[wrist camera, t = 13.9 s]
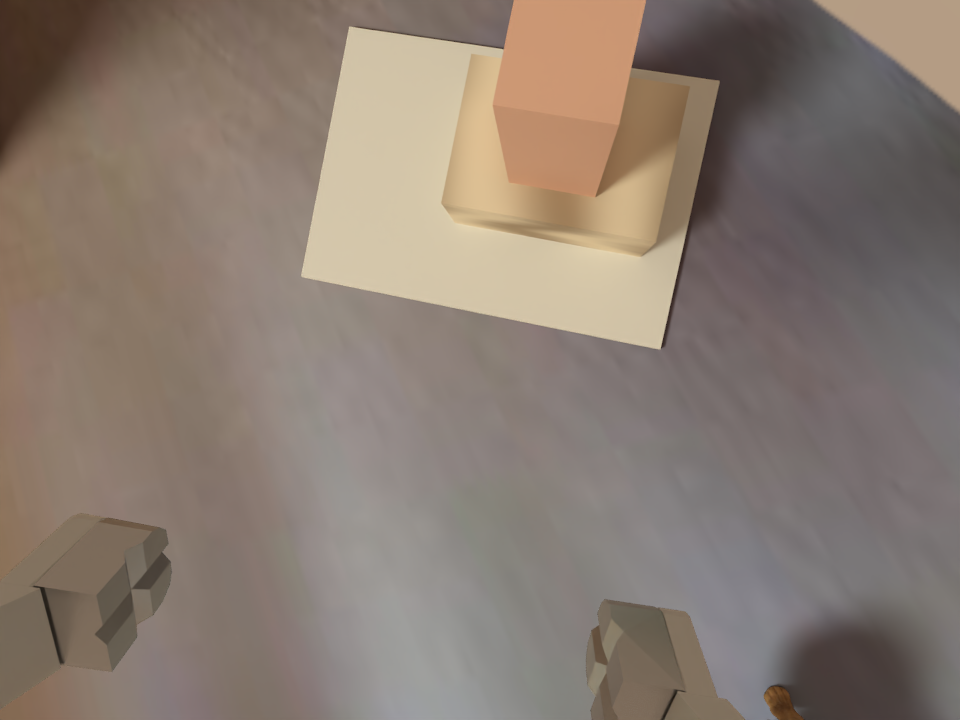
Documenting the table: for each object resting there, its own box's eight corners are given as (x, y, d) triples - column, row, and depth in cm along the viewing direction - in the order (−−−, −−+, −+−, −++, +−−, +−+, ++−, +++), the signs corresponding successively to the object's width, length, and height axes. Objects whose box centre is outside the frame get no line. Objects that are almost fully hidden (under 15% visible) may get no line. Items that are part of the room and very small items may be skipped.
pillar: (508, 182, 25) (492, 105, 17) (526, 96, 25) (518, -23, 17) (595, 197, 25) (619, 125, 17) (613, 109, 25) (647, -6, 17)
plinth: (454, 222, 30) (441, 203, 26) (481, 94, 29) (471, 53, 25) (640, 257, 28) (656, 242, 24) (669, 123, 28) (690, 86, 24)
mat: (303, 277, 31) (301, 276, 31) (351, 29, 30) (349, 26, 30) (659, 349, 29) (660, 349, 28) (717, 83, 28) (719, 80, 28)
